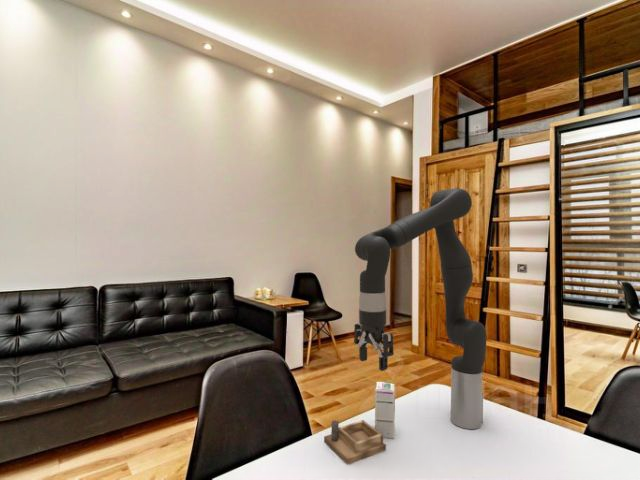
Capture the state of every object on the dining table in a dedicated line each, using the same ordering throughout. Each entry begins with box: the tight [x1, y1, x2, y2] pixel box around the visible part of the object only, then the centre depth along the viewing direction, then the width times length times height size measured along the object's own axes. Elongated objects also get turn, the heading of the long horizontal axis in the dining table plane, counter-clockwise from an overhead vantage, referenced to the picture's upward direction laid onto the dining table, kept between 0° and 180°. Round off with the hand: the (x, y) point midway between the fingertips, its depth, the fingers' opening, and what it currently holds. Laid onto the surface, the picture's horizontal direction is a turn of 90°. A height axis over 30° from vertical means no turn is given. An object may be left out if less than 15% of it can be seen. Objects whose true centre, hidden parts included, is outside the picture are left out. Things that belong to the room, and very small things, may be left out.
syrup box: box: [374, 381, 396, 440], centre depth 110 cm, size 6×6×14 cm
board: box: [323, 419, 387, 465], centre depth 103 cm, size 13×12×6 cm
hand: (372, 365), depth 102 cm, fingers open, 8 cm apart
